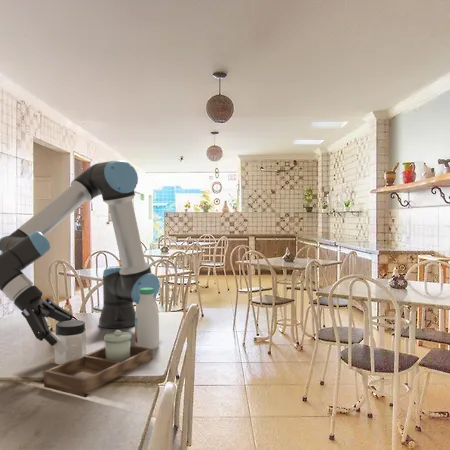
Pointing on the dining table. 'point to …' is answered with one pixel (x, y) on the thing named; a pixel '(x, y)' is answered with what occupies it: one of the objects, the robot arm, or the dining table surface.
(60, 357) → the jar
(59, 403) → the dining table surface
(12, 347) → the dining table surface
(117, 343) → the sugar pot
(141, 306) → the milk bottle
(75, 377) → the caddy
